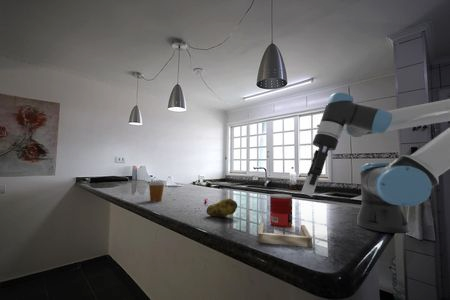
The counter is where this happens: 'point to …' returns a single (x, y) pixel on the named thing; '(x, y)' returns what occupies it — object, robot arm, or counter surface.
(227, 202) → the potato
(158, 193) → the disposable coffee cup
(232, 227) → the counter surface
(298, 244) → the shallow beige tray
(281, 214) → the canned food
